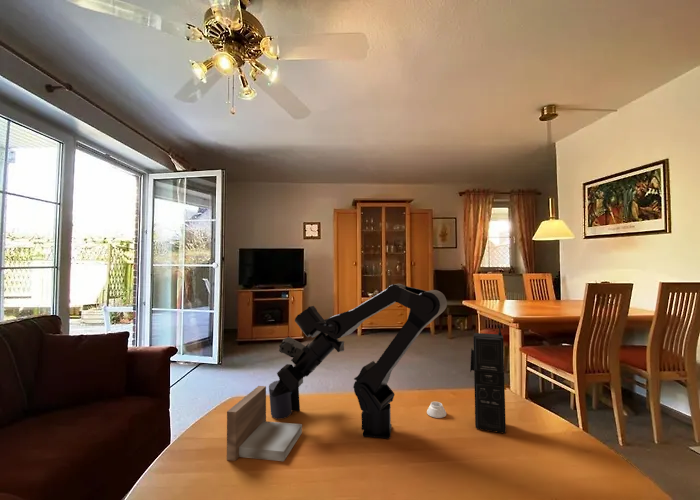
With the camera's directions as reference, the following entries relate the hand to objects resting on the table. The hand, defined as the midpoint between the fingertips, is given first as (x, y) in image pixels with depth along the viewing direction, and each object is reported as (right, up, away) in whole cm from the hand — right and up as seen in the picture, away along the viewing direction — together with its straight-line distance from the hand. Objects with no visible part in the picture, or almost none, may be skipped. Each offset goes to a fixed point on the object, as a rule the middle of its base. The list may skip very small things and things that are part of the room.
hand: (278, 389), depth 92 cm
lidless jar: (+43, -7, -1) cm, 43 cm away
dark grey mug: (+1, -7, 0) cm, 7 cm away
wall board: (+2, -6, -15) cm, 17 cm away
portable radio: (+54, -6, -8) cm, 55 cm away
